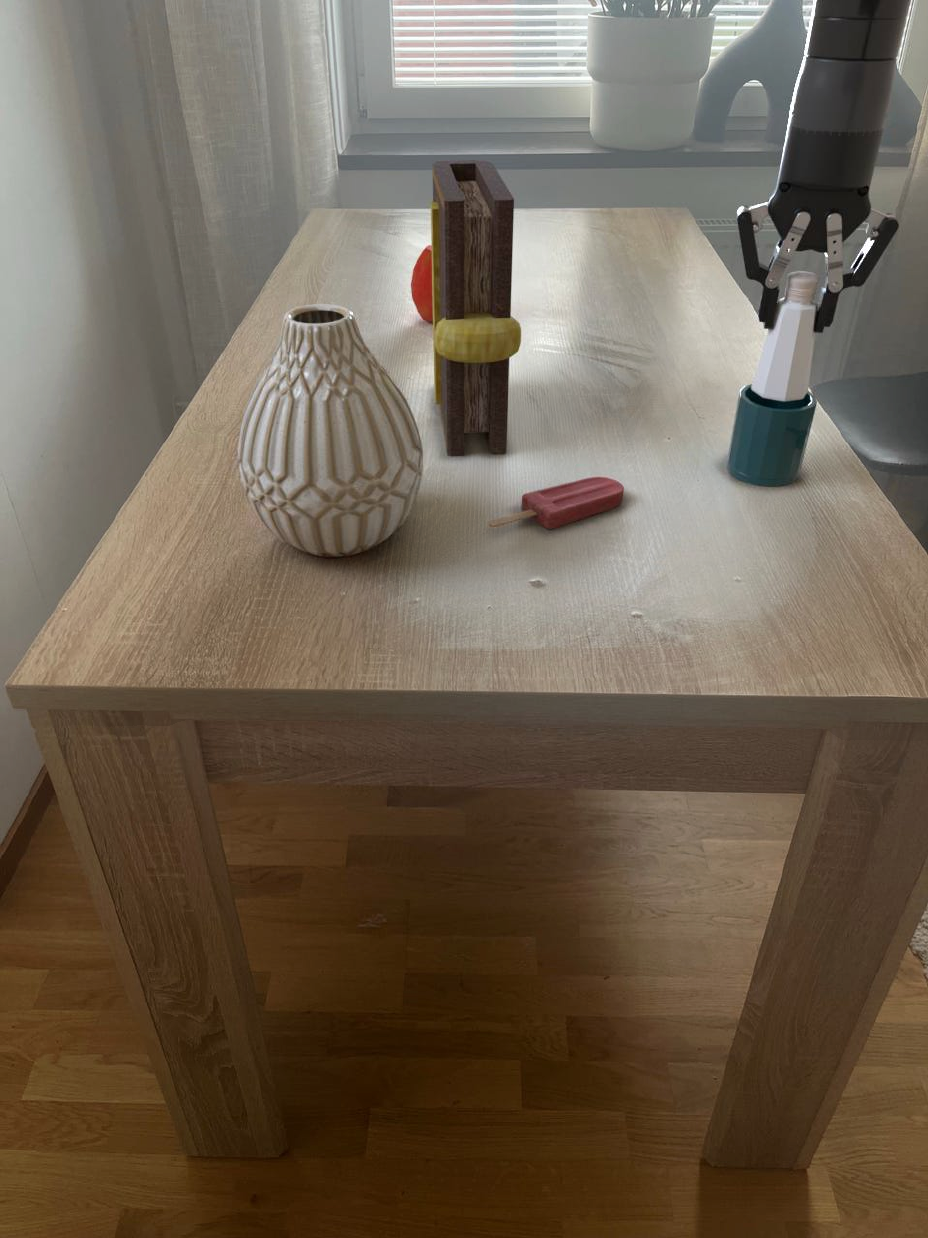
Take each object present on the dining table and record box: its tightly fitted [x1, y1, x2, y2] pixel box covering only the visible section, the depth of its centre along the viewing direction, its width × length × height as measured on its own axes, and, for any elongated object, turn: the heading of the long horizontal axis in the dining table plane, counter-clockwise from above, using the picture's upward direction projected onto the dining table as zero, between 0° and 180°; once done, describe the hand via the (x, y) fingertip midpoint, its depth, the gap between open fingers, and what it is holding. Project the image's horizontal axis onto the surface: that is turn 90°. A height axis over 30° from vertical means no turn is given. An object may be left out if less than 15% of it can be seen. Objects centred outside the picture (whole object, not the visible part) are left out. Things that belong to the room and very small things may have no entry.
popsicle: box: [487, 476, 625, 530], centre depth 87 cm, size 4×2×15 cm
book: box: [430, 159, 522, 457], centre depth 97 cm, size 22×8×25 cm, turn 5°
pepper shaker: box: [751, 270, 820, 402], centre depth 86 cm, size 5×5×11 cm
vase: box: [236, 303, 424, 558], centre depth 78 cm, size 16×16×20 cm
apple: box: [410, 244, 433, 324], centre depth 130 cm, size 8×8×11 cm
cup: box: [726, 383, 818, 487], centre depth 92 cm, size 7×7×8 cm
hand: (792, 327), depth 86 cm, fingers closed on pepper shaker, 4 cm apart
